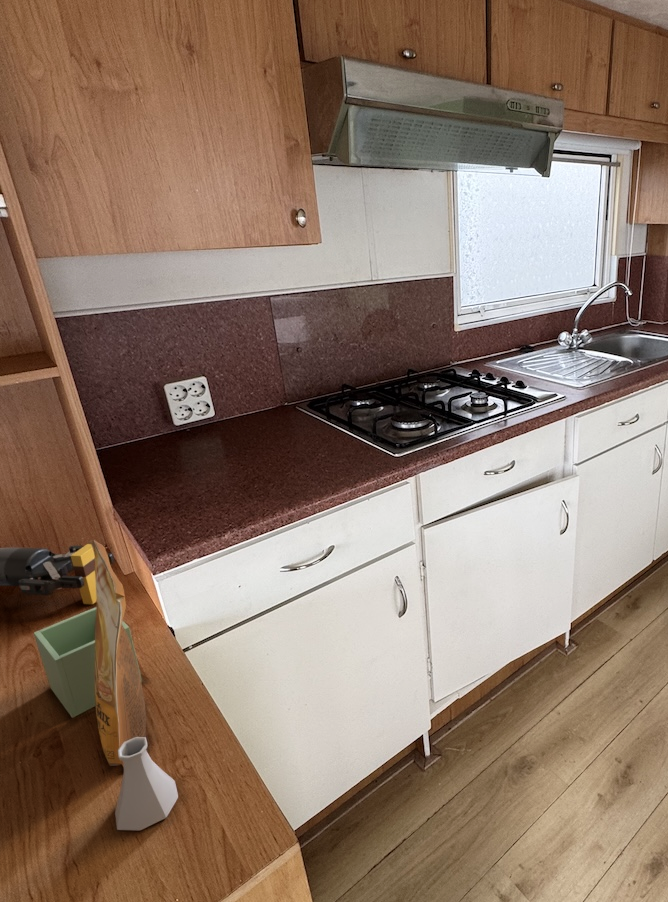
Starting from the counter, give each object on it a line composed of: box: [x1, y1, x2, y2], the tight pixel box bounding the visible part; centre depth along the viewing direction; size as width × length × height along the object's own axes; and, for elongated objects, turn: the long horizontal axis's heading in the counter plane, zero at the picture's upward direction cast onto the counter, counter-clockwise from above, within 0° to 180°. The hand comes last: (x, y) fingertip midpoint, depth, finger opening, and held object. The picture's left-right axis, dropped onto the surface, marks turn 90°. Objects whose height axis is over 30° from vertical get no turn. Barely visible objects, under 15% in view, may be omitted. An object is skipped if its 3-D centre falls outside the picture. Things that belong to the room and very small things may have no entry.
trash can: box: [33, 606, 143, 719], centre depth 93 cm, size 10×10×11 cm
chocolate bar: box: [71, 543, 96, 605], centre depth 115 cm, size 2×5×11 cm, turn 177°
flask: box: [114, 736, 179, 831], centre depth 73 cm, size 7×7×10 cm
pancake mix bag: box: [89, 539, 147, 769], centre depth 82 cm, size 7×19×28 cm, turn 34°
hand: (97, 570), depth 114 cm, fingers open, 8 cm apart
